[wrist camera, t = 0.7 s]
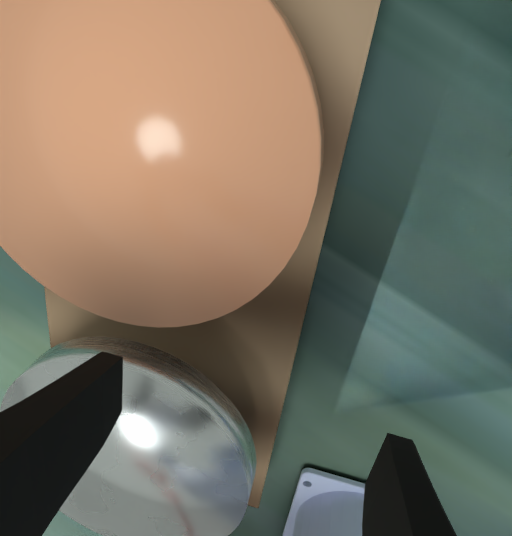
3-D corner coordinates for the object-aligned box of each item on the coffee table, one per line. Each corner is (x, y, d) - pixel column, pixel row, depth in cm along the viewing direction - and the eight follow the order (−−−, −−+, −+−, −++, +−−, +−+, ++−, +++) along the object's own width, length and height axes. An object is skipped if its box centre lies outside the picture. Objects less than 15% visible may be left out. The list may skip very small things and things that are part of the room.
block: (268, 463, 27) (258, 508, 24) (89, 410, 28) (61, 448, 26) (392, -52, 14) (398, -73, 12) (60, -97, 16) (0, -125, 13)
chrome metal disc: (252, 491, 24) (231, 578, 20) (70, 436, 25) (16, 507, 21) (288, 332, 19) (268, 408, 15) (55, 273, 20) (-20, 329, 16)
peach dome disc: (297, 293, 18) (278, 363, 14) (51, 234, 19) (-29, 283, 15) (369, -30, 12) (372, -64, 8) (23, -80, 14) (-113, -129, 10)
